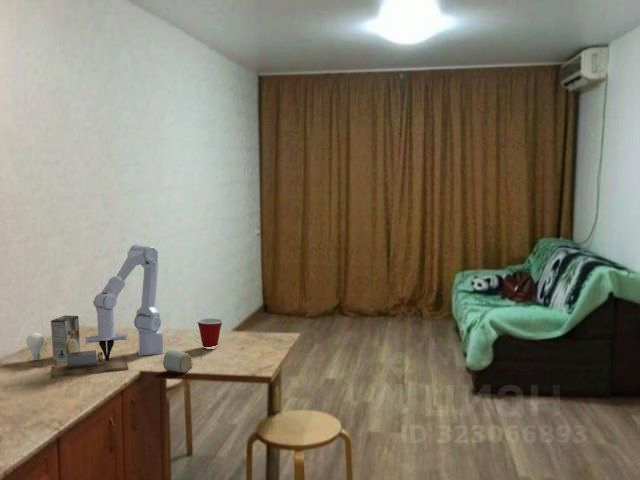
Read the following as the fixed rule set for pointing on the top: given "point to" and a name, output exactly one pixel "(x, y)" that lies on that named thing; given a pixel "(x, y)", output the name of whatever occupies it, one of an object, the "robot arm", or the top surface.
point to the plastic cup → (209, 331)
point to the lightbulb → (35, 344)
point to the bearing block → (81, 360)
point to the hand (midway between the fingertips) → (107, 359)
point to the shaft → (98, 357)
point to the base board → (104, 366)
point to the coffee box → (65, 336)
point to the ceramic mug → (177, 361)
